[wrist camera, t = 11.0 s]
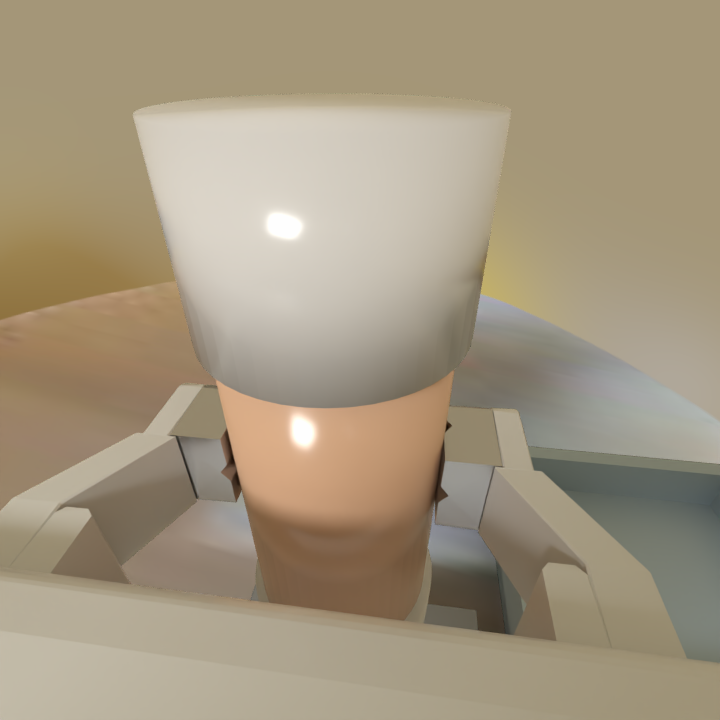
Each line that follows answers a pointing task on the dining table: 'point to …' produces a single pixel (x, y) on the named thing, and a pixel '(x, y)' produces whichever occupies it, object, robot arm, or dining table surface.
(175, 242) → the cylinder
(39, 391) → the dining table surface
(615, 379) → the dining table surface
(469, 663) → the robot arm
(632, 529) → the parts tray
